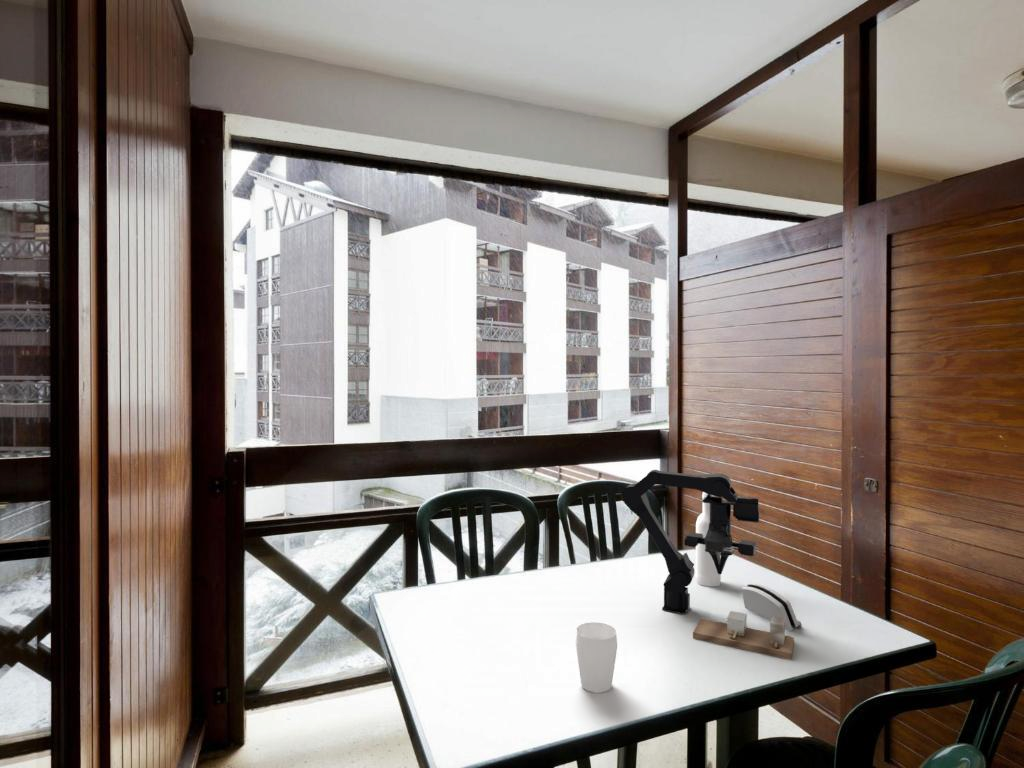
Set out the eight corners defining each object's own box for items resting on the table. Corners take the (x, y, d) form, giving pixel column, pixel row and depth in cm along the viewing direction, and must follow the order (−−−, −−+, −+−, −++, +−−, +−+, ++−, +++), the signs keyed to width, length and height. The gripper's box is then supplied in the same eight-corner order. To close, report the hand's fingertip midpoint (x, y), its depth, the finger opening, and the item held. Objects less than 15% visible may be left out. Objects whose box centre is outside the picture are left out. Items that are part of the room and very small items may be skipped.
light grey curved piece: (803, 628, 154) (794, 595, 152) (790, 636, 152) (781, 603, 151) (758, 605, 169) (749, 575, 168) (745, 612, 168) (736, 582, 167)
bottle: (719, 579, 191) (719, 490, 191) (722, 587, 183) (722, 495, 183) (694, 577, 193) (694, 489, 193) (696, 585, 185) (696, 494, 185)
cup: (572, 675, 129) (572, 622, 129) (611, 673, 130) (611, 621, 130) (580, 697, 120) (580, 640, 120) (622, 695, 121) (622, 639, 121)
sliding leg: (725, 637, 145) (725, 621, 144) (730, 625, 151) (730, 610, 151) (742, 640, 143) (742, 624, 143) (746, 629, 149) (746, 613, 149)
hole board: (692, 638, 148) (693, 613, 148) (700, 623, 156) (700, 600, 156) (791, 659, 136) (791, 632, 136) (793, 643, 145) (794, 617, 145)
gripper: (679, 520, 160) (678, 575, 160) (749, 530, 150) (749, 589, 150) (689, 512, 169) (689, 565, 169) (757, 521, 159) (756, 576, 159)
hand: (719, 573), depth 162 cm, fingers closed
